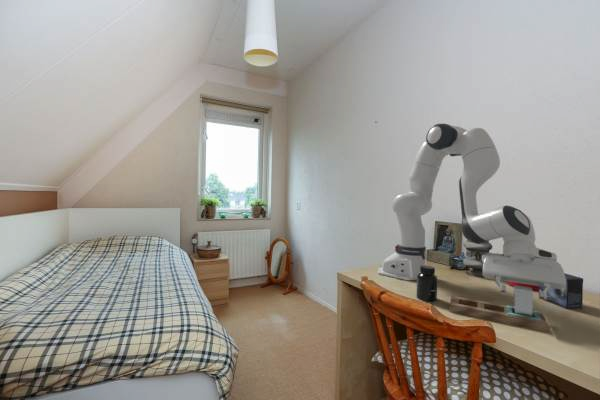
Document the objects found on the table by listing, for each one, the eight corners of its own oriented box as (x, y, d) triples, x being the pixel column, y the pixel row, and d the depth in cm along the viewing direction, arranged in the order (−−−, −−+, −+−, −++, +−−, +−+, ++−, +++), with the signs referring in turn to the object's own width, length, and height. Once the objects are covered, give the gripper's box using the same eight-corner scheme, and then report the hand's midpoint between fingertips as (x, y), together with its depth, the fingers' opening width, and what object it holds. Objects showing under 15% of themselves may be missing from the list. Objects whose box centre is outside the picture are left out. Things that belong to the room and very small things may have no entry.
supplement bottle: (435, 305, 97) (436, 270, 96) (414, 300, 100) (415, 267, 100) (438, 298, 103) (438, 266, 102) (418, 295, 106) (418, 263, 106)
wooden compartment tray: (449, 313, 90) (449, 303, 90) (451, 304, 98) (451, 294, 97) (547, 334, 77) (547, 322, 77) (541, 321, 84) (542, 311, 84)
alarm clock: (501, 274, 124) (539, 268, 121) (504, 287, 124) (542, 283, 121) (513, 281, 114) (555, 275, 111) (517, 296, 114) (559, 291, 110)
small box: (536, 297, 105) (537, 270, 105) (552, 297, 105) (553, 269, 105) (566, 309, 94) (567, 278, 94) (583, 308, 95) (584, 278, 95)
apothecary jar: (458, 270, 142) (458, 235, 141) (482, 271, 141) (483, 235, 141) (471, 277, 130) (472, 239, 129) (498, 278, 129) (499, 239, 128)
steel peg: (514, 322, 83) (515, 288, 83) (513, 317, 86) (514, 285, 86) (532, 325, 81) (533, 291, 80) (529, 320, 84) (530, 287, 84)
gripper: (481, 246, 95) (481, 282, 87) (563, 254, 84) (570, 296, 76) (481, 257, 99) (480, 292, 91) (559, 266, 88) (566, 307, 80)
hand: (522, 294), depth 83 cm, fingers open, 8 cm apart
